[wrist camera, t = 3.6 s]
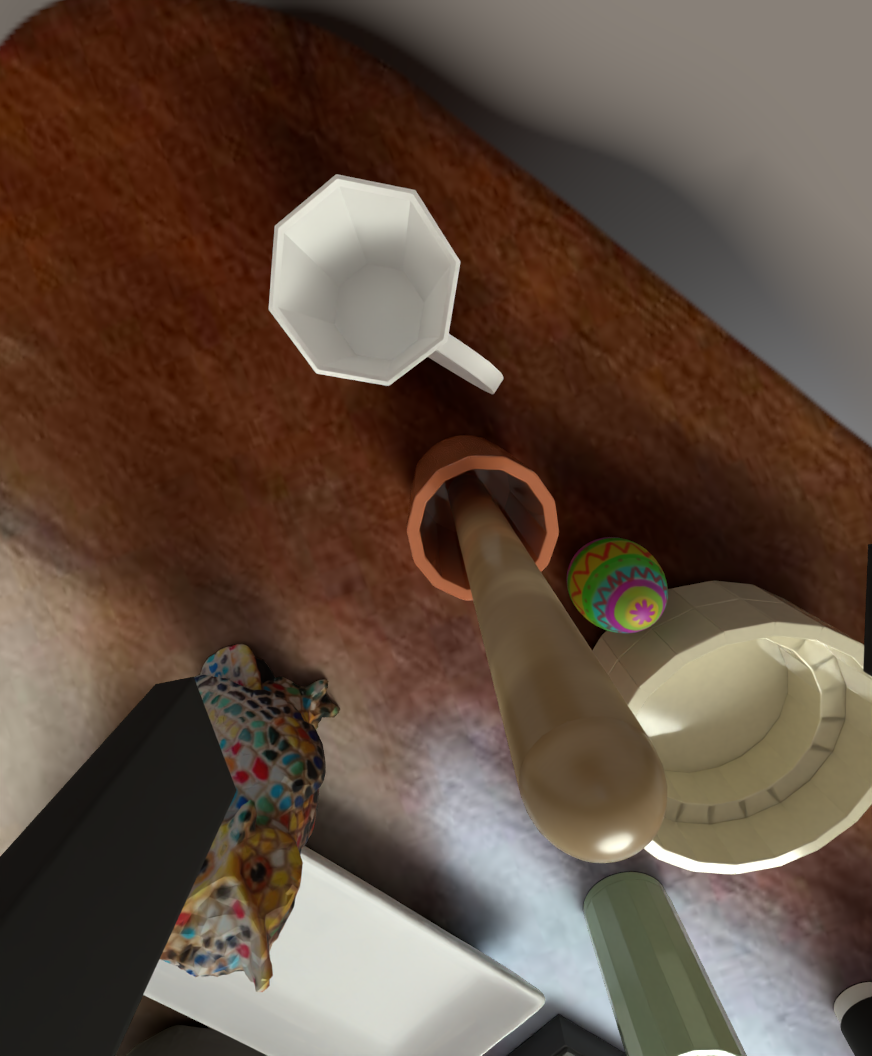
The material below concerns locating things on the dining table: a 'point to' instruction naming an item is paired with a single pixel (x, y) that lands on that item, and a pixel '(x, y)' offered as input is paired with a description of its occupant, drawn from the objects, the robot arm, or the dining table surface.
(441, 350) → the cup
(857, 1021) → the dixie cup
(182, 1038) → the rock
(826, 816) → the bowl
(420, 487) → the holder
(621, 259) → the dining table surface
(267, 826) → the figurine
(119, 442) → the dining table surface
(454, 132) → the dining table surface
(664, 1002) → the vase
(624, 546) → the egg
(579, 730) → the stick
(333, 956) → the tray
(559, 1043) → the picture frame
